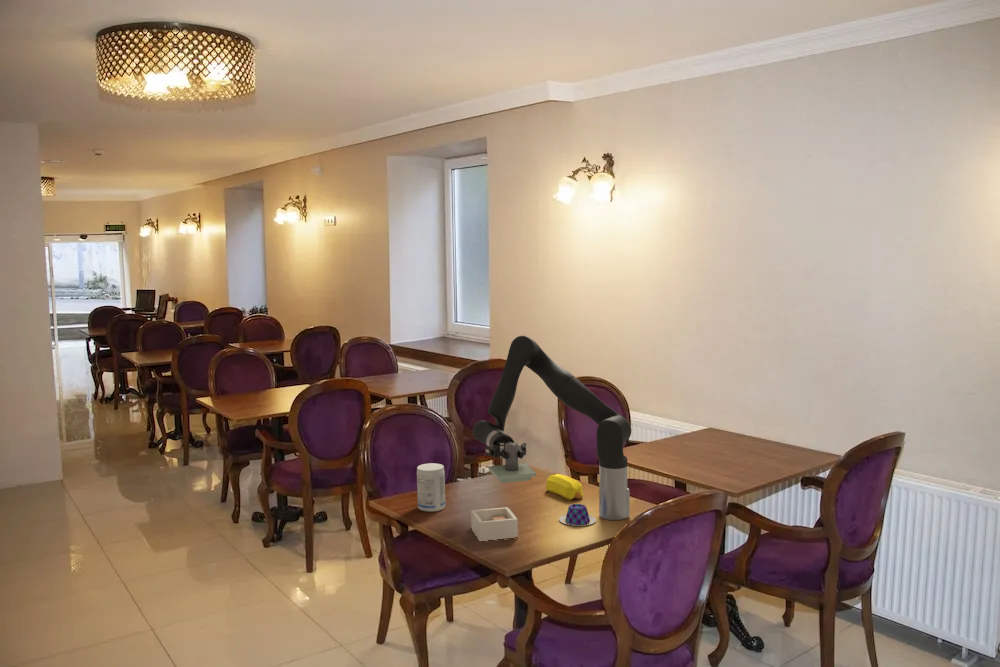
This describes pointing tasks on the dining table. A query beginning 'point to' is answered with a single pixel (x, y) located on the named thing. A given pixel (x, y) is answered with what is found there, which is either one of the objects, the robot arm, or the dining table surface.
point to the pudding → (577, 515)
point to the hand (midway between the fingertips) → (514, 455)
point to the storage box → (494, 524)
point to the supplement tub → (431, 487)
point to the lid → (512, 467)
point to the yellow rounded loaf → (564, 486)
